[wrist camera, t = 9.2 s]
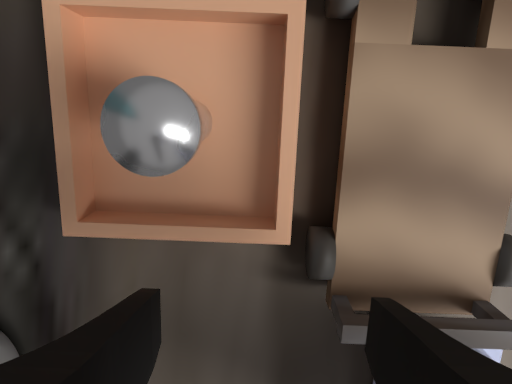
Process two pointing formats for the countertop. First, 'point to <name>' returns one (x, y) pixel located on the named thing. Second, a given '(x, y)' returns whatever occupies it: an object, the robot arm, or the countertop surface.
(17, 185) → the countertop surface
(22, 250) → the countertop surface
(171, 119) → the pin
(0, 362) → the pump dispenser
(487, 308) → the trolley
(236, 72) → the tray
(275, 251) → the countertop surface
